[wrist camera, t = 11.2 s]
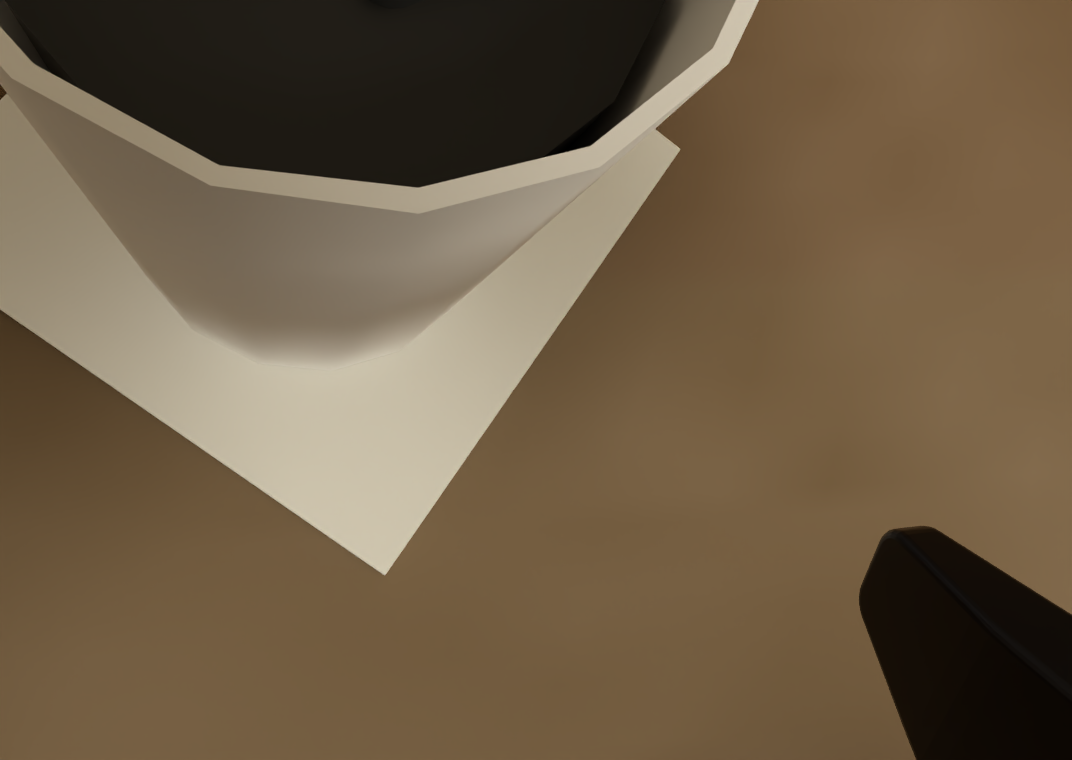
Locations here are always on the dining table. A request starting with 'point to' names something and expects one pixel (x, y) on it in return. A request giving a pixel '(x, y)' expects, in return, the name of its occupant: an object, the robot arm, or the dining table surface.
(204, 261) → the white cup
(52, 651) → the dining table surface
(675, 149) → the mat
